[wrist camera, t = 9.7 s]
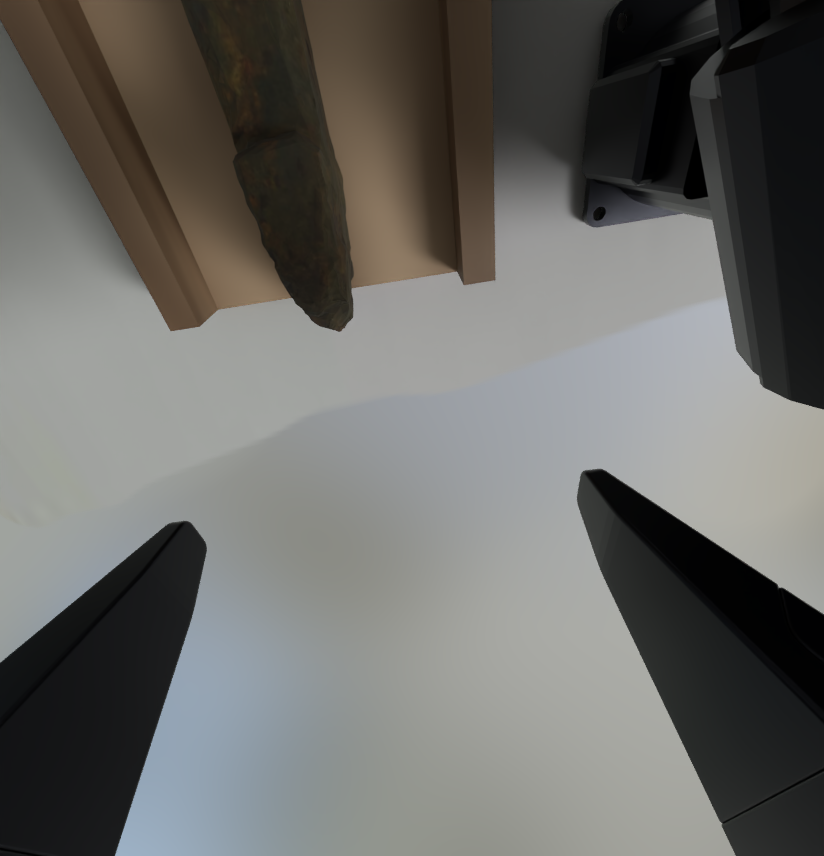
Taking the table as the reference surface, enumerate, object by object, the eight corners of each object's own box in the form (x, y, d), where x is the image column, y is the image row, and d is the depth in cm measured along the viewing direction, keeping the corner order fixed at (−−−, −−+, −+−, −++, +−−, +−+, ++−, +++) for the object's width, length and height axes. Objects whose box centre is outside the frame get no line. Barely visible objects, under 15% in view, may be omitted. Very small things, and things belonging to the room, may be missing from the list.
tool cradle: (447, -722, 7) (475, -1184, 5) (481, 261, 17) (495, 280, 15) (-196, -526, 8) (-467, -835, 5) (201, 306, 18) (170, 331, 15)
